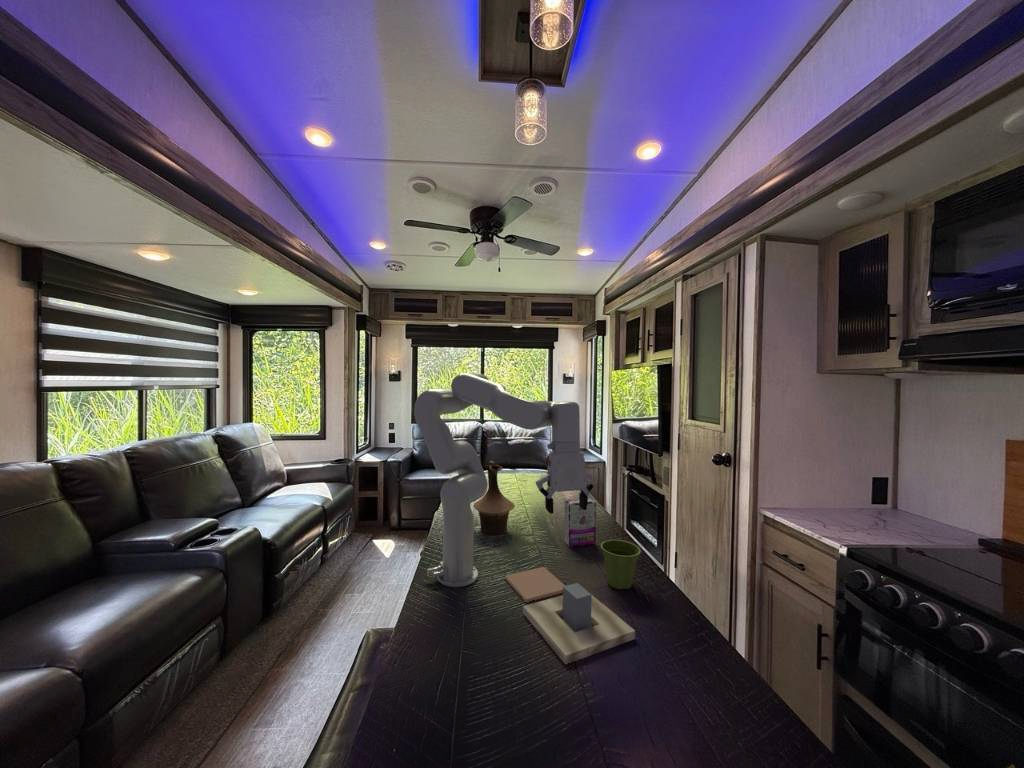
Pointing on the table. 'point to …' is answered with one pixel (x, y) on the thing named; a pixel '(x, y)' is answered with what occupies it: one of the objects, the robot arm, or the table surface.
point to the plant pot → (620, 562)
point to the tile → (535, 584)
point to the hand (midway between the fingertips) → (566, 510)
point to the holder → (583, 642)
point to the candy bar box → (580, 523)
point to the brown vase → (493, 505)
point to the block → (576, 607)
